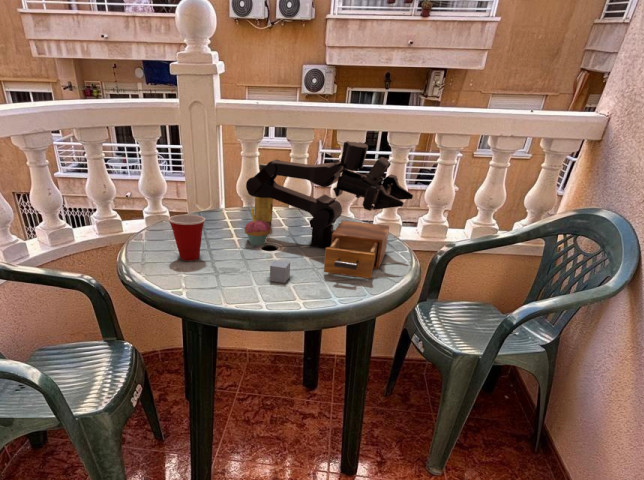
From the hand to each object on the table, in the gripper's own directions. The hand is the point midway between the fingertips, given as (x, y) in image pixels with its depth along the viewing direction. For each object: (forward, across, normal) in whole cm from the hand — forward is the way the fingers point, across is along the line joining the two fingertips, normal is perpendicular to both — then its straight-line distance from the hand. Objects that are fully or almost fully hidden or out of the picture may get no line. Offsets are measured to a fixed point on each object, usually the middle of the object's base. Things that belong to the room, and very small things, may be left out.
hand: (408, 200), depth 138 cm
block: (-21, -31, +21) cm, 43 cm away
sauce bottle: (-48, +6, +25) cm, 54 cm away
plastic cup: (-52, -30, +26) cm, 66 cm away
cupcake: (-41, -9, +24) cm, 48 cm away
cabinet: (-8, -5, +19) cm, 21 cm away
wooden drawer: (-6, -17, +18) cm, 25 cm away
